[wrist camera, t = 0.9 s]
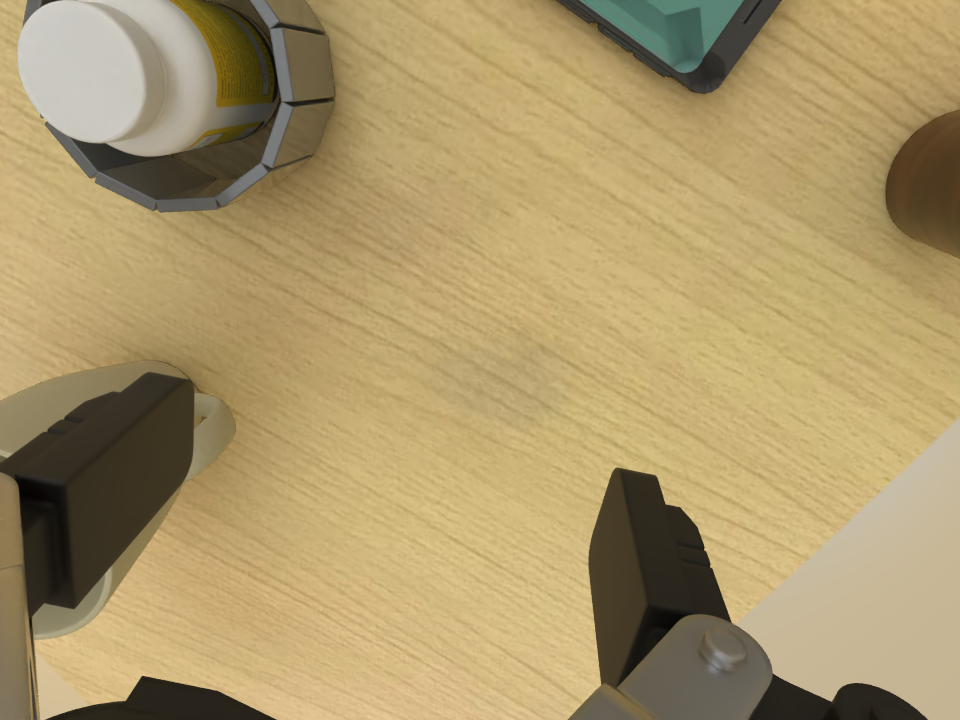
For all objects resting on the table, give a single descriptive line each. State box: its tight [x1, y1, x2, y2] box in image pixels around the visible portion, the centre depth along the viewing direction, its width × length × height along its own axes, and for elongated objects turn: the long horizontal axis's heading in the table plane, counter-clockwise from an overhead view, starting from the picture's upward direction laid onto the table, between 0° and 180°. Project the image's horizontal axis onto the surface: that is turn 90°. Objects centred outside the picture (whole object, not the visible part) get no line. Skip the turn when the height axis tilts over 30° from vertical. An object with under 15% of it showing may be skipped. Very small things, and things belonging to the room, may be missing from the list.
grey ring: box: [22, 0, 336, 213], centre depth 27 cm, size 10×10×6 cm
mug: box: [0, 360, 236, 640], centre depth 30 cm, size 11×10×12 cm
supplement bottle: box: [17, 0, 280, 157], centre depth 25 cm, size 5×5×10 cm
